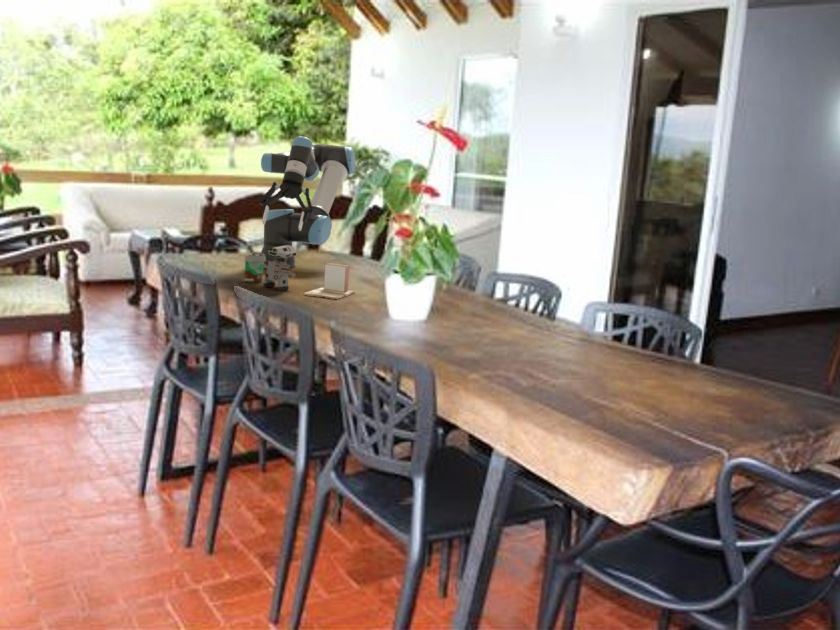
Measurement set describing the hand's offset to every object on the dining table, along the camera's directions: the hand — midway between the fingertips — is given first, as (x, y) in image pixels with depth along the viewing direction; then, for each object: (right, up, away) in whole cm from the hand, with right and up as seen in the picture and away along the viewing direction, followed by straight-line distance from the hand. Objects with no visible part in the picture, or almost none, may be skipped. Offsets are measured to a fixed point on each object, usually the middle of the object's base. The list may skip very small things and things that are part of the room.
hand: (281, 226), depth 309 cm
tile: (+21, -24, -13) cm, 35 cm away
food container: (-8, -21, -5) cm, 23 cm away
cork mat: (+20, -26, -18) cm, 37 cm away
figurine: (+2, -24, -14) cm, 28 cm away
